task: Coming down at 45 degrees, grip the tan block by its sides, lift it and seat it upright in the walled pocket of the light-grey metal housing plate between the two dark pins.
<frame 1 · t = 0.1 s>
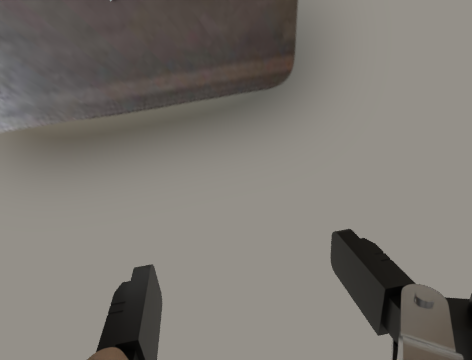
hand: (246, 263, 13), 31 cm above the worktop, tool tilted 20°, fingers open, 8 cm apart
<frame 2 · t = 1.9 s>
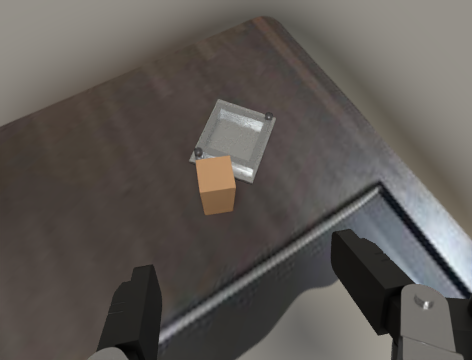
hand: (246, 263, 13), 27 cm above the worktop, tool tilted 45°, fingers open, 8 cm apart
housing plate: (234, 141, 45), on the worktop
tan block: (216, 199, 41), on the worktop
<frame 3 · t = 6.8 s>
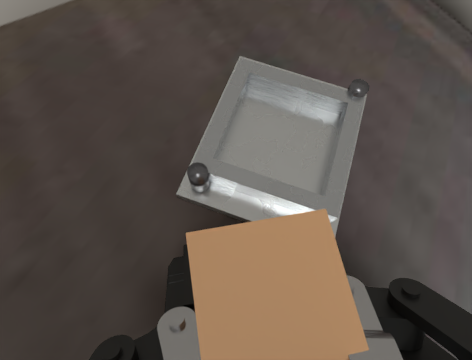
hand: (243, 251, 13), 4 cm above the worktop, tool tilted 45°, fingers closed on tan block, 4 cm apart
housing plate: (277, 145, 20), on the worktop
tan block: (245, 294, 17), on the worktop, touching gripper
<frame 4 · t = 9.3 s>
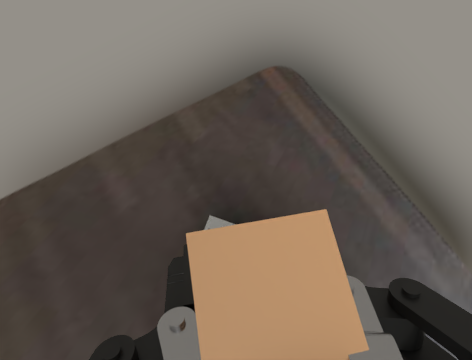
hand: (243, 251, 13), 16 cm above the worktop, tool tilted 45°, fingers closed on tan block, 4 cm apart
tan block: (245, 294, 17), point 12 cm above the worktop, touching gripper
when the fingers open (7 cm above the worktop, at t = 11.6 s): tan block drops 2 cm, resting on housing plate.
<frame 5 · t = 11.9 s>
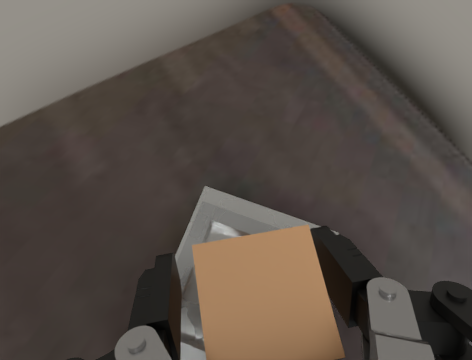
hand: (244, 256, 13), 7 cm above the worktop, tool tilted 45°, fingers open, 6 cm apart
housing plate: (242, 294, 19), on the worktop
tan block: (243, 295, 18), point 1 cm above the worktop, touching housing plate
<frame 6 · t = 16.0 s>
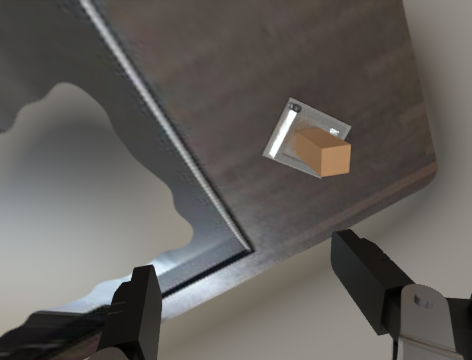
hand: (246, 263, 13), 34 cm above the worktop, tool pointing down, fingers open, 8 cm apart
housing plate: (305, 139, 48), on the worktop
tan block: (306, 140, 47), point 1 cm above the worktop, touching housing plate
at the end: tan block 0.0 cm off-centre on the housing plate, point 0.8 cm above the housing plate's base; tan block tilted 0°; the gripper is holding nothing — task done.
